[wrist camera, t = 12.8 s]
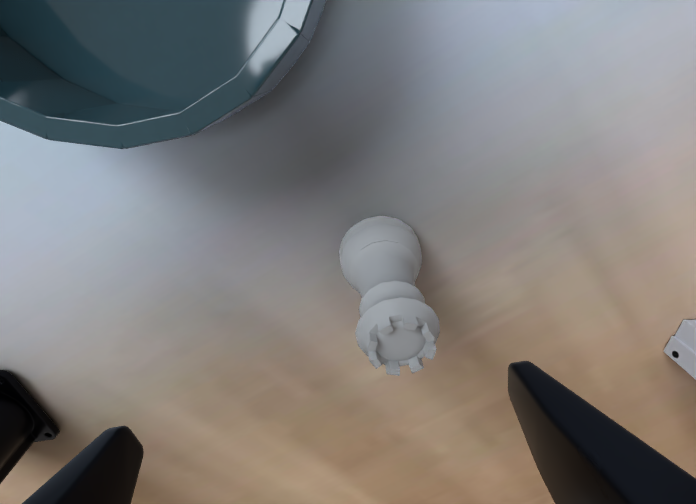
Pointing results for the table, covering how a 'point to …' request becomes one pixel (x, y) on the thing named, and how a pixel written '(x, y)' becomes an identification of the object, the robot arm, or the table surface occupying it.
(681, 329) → the walkman
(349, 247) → the rook chess piece
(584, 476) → the robot arm
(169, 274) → the table surface
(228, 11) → the pot
